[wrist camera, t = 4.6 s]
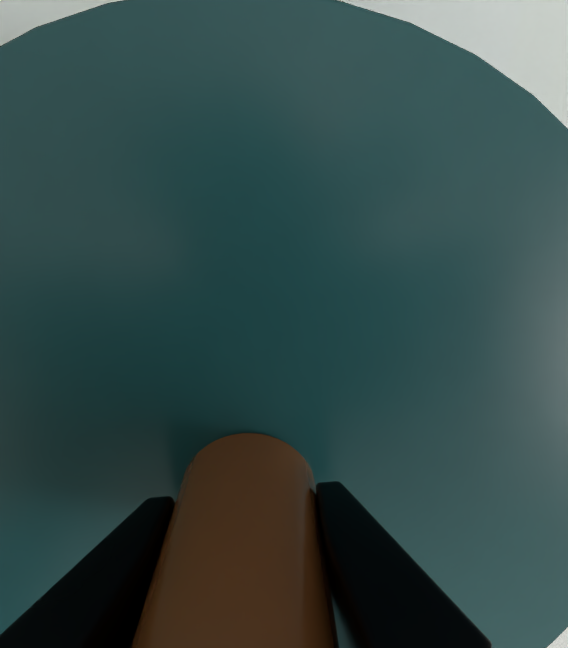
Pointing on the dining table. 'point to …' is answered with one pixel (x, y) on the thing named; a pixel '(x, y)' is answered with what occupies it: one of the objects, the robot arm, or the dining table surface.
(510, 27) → the dining table surface
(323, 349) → the lid
